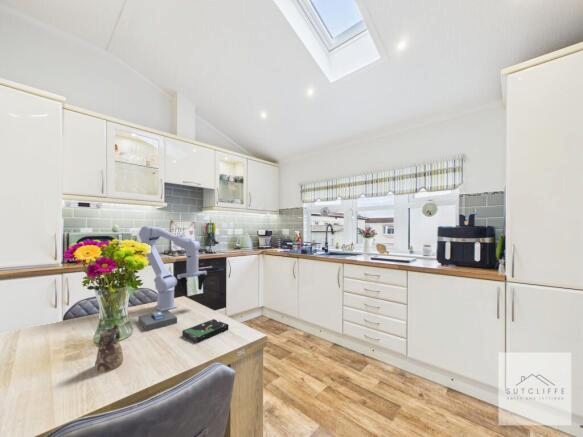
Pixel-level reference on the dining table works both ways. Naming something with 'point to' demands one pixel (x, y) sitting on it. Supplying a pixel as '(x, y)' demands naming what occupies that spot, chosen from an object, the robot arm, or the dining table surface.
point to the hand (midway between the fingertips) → (192, 290)
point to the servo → (157, 316)
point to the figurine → (108, 351)
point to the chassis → (152, 324)
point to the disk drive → (204, 330)
